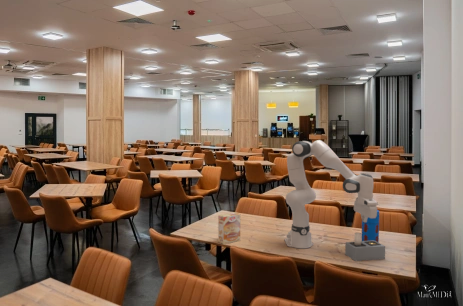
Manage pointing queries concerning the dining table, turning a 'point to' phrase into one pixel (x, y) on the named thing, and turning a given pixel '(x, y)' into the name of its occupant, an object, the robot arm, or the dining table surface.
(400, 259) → the dining table surface
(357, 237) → the nylon peg
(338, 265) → the dining table surface
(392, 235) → the dining table surface
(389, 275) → the dining table surface
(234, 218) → the coffeecake box
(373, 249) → the socket block
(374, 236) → the thermos
